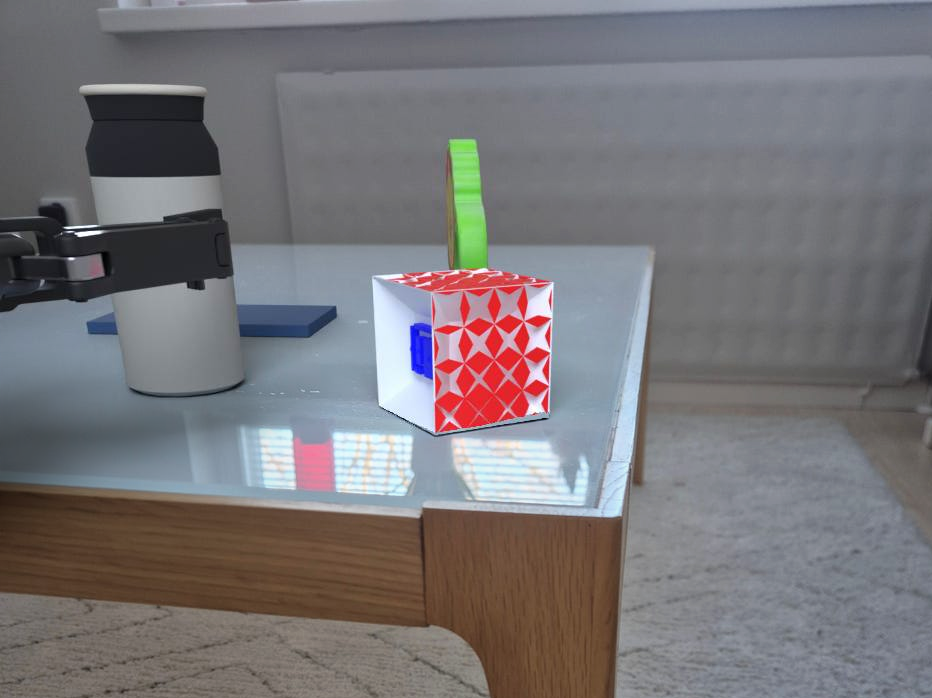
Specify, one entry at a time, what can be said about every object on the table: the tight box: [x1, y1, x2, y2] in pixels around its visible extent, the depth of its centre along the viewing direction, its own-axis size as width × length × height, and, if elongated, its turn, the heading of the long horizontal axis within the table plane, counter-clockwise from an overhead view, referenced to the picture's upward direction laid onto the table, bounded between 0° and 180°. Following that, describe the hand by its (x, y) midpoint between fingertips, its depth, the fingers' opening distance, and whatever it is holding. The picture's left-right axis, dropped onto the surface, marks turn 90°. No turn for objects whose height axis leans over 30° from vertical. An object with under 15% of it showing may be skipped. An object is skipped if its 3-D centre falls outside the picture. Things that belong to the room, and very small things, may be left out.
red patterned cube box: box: [371, 267, 555, 433], centre depth 57 cm, size 8×8×8 cm
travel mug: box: [78, 83, 246, 397], centre depth 62 cm, size 8×8×18 cm
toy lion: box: [444, 138, 489, 271], centre depth 75 cm, size 16×5×15 cm, turn 5°
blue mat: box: [85, 303, 338, 338], centre depth 87 cm, size 20×11×1 cm, turn 85°
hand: (102, 234), depth 53 cm, fingers open, 13 cm apart
